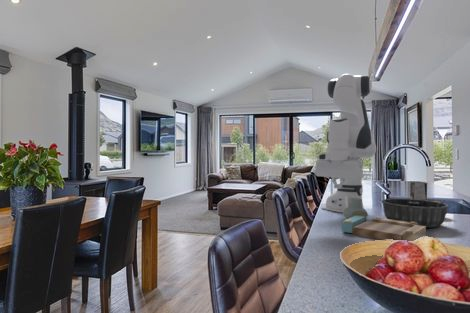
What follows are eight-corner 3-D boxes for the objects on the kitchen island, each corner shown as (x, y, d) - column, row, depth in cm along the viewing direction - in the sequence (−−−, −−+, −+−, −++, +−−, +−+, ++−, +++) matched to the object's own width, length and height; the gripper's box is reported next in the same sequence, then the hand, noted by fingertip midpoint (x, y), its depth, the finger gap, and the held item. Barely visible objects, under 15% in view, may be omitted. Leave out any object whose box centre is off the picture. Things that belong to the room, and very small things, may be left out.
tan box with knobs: (352, 234, 135) (352, 223, 135) (372, 226, 150) (372, 215, 150) (413, 245, 120) (413, 232, 120) (428, 234, 135) (428, 223, 135)
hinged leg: (352, 233, 135) (352, 221, 135) (341, 231, 137) (341, 220, 137) (366, 225, 149) (366, 214, 149) (356, 224, 152) (356, 213, 152)
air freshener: (347, 221, 159) (347, 200, 158) (340, 218, 167) (340, 197, 167) (370, 221, 159) (370, 200, 159) (362, 218, 167) (362, 197, 167)
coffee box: (427, 214, 178) (427, 182, 178) (413, 213, 179) (414, 182, 179) (421, 211, 187) (421, 181, 187) (408, 210, 188) (408, 181, 188)
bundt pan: (412, 217, 171) (413, 197, 171) (463, 228, 146) (463, 205, 146) (368, 220, 162) (369, 199, 162) (414, 233, 137) (415, 208, 137)
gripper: (365, 156, 142) (365, 190, 143) (320, 154, 156) (320, 185, 157) (359, 157, 138) (358, 191, 138) (313, 155, 151) (313, 186, 152)
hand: (338, 188), depth 148 cm, fingers closed
